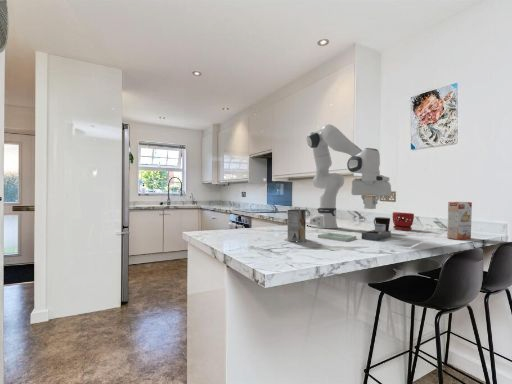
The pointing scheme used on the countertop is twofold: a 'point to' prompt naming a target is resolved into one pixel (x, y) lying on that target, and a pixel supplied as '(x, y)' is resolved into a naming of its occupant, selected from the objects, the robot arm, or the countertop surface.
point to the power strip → (375, 235)
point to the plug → (369, 202)
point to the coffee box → (296, 224)
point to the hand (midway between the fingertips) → (370, 204)
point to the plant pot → (403, 221)
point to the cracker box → (459, 220)
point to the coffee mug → (382, 221)
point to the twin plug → (380, 227)
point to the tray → (337, 236)
